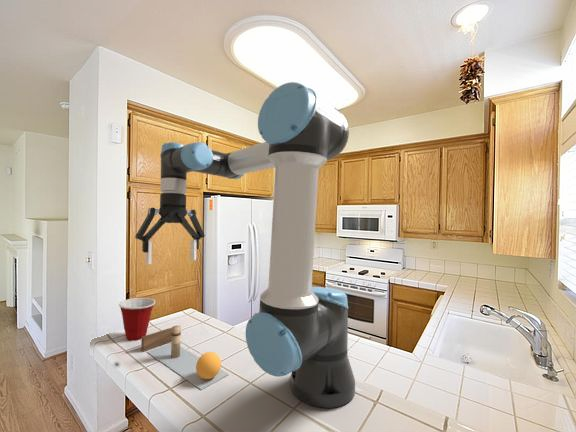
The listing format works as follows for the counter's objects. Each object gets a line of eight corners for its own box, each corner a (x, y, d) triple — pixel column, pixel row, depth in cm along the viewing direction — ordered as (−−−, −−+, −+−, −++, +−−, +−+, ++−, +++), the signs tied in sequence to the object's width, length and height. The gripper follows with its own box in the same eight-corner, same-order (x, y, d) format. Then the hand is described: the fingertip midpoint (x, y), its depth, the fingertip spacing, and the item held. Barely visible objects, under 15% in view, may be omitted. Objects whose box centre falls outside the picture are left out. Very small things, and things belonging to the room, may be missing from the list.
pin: (181, 356, 75) (182, 326, 76) (173, 360, 74) (174, 329, 74) (177, 353, 77) (178, 324, 77) (169, 357, 75) (169, 327, 75)
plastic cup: (138, 346, 82) (139, 307, 82) (109, 342, 84) (110, 305, 84) (161, 332, 92) (162, 298, 93) (135, 329, 94) (136, 296, 95)
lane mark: (228, 374, 67) (228, 374, 67) (201, 390, 60) (201, 389, 60) (173, 343, 84) (173, 342, 84) (147, 352, 78) (147, 351, 78)
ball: (225, 376, 66) (226, 352, 66) (205, 388, 61) (205, 362, 61) (211, 368, 70) (211, 345, 70) (190, 378, 65) (191, 353, 65)
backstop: (172, 341, 85) (172, 329, 85) (143, 351, 78) (143, 338, 78) (170, 340, 86) (170, 327, 86) (141, 350, 79) (141, 336, 79)
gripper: (204, 197, 94) (204, 257, 93) (124, 190, 76) (122, 264, 75) (215, 195, 88) (214, 259, 87) (131, 188, 71) (129, 267, 70)
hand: (172, 261), depth 81 cm, fingers open, 13 cm apart
